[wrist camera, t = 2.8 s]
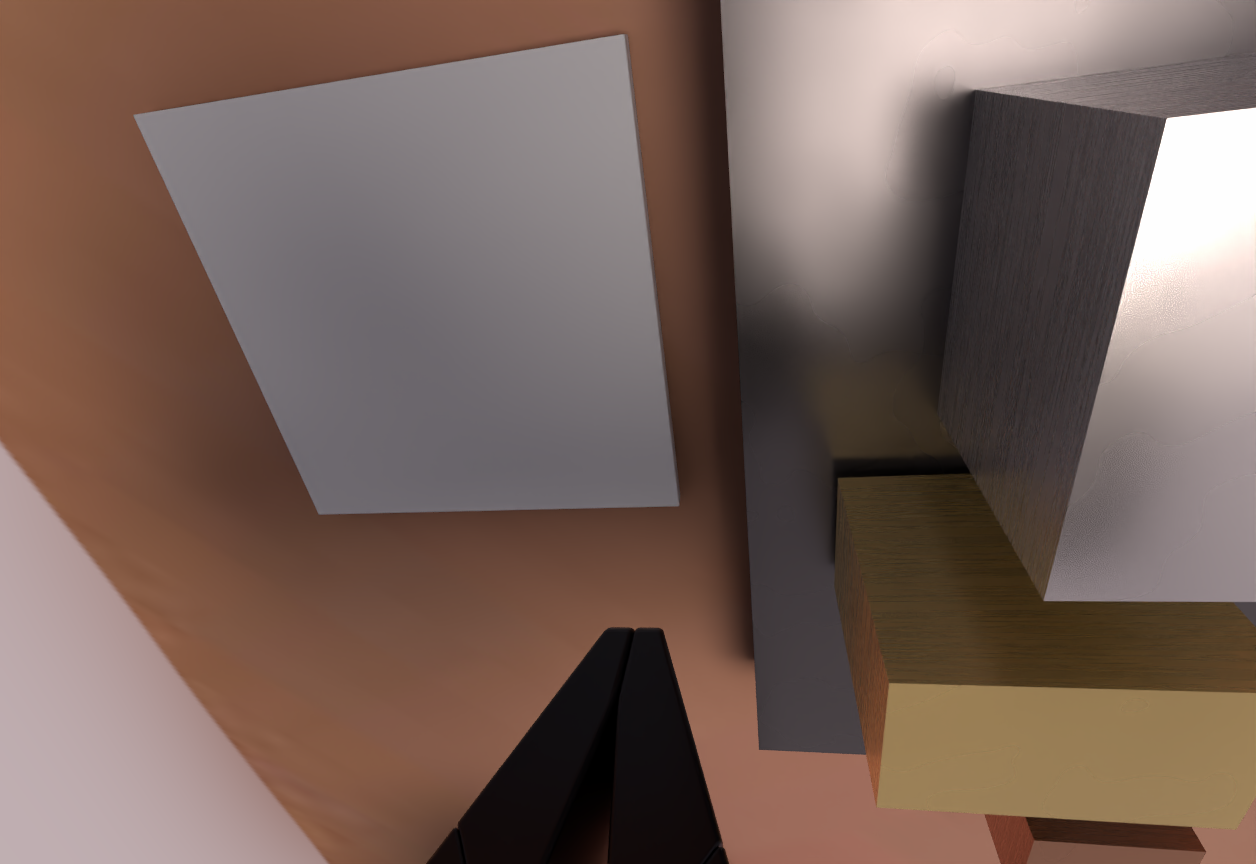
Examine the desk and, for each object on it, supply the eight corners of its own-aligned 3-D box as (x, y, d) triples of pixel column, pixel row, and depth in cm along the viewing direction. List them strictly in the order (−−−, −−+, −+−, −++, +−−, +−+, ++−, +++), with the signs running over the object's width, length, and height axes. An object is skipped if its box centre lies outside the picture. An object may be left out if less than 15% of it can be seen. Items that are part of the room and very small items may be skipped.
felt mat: (680, 495, 15) (679, 506, 14) (327, 505, 16) (319, 514, 16) (628, 34, 10) (624, 33, 10) (150, 112, 12) (133, 114, 11)
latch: (1078, 586, 11) (1236, 829, 7) (834, 586, 12) (876, 807, 8) (1111, 469, 10) (1317, 695, 6) (837, 478, 10) (888, 682, 7)
